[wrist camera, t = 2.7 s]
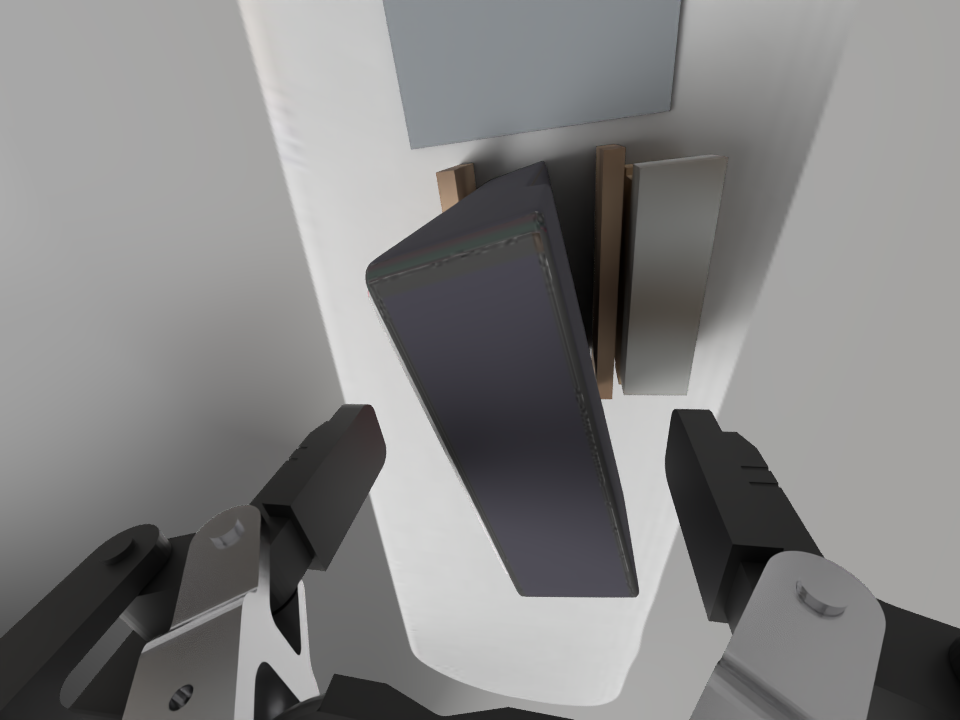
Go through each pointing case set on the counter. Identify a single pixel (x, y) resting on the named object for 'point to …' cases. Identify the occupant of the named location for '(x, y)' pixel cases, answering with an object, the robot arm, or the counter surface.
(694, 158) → the offcut stack
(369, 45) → the counter surface
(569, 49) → the slate mat
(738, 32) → the counter surface
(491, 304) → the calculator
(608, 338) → the rack
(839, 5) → the counter surface
